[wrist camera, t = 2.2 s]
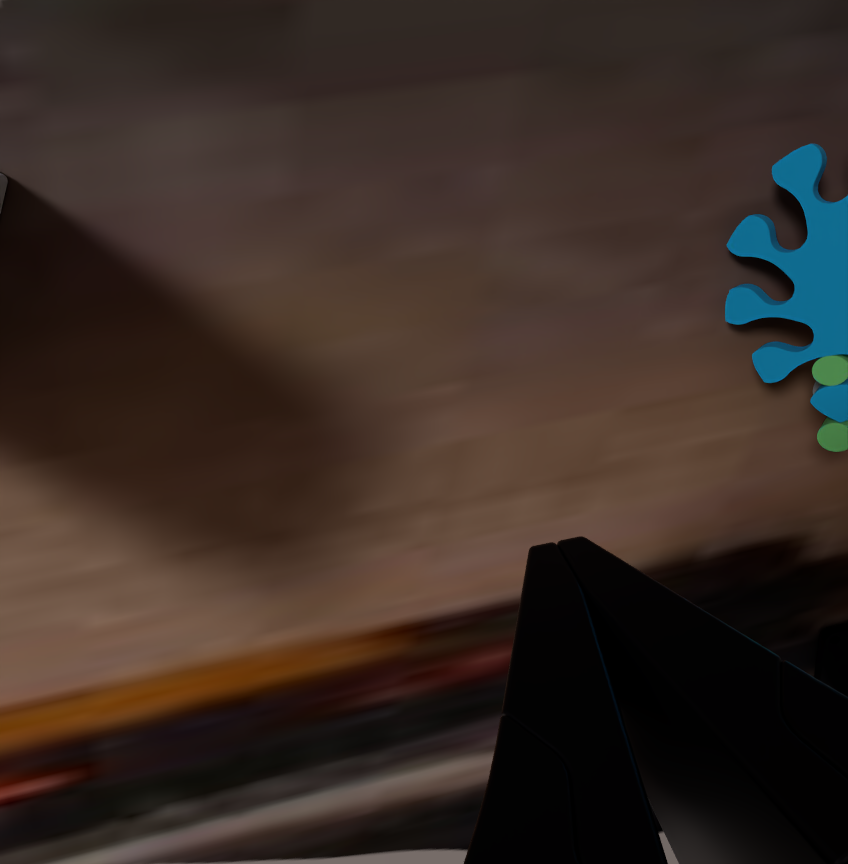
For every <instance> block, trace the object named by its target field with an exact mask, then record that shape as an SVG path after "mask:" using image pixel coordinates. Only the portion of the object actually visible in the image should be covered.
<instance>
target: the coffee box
mask: <svg viewBox="0 0 848 864" xmlns="http://www.w3.org/2000/svg"><path fill="white" fill-rule="evenodd" d="M7 183H8V180H7V177H6V176H5V175H3V174H2V173H0V214H1V209H2V205H3V200H4V196H5V192H6V187H7Z"/></svg>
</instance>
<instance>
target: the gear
mask: <svg viewBox="0 0 848 864" xmlns="http://www.w3.org/2000/svg"><path fill="white" fill-rule="evenodd" d="M826 163H827V157H826V153H825V151H824V150H823V148H822V147H821V146H819V145H817V144H809V145H806V146H803V147H801V148H799V149H797V150H795V151H793V152H791V153H790V154H788V155H787V156H785V157H784V158H782V159H781V160H780V161H779V162H777V163H776V164H775V165H773V166H772V175H773V178H774V180H775V182H776V183H777V184H778V185H779V186H781V187H783V188H785V189H787V190H788V191H789V192H791V193H792V194H793V195H794V196H795V197H796V198H797V200H798V201H799V202H800V204H801V206H802V208H803V210H804V214H805V217H806V223H807V229H808V236H807V240H806V241H805V243H804V244H803V246H802V247H800V248H799V249H796V250H787V249H784V248H782V247H781V246H780V245H779V243H778V241H777V238H776V232H775V227H774V224H773V222H772V220H771V219H769V218H768V217H767V216H765V215H761V214H754V215H749V216H748V217H747V218H745V219H744V220H743V221H742V222H741V223H740V224H739V226H738V227H737V228H736V230H735V231H734V233H733V234H732V236H731V238H730V240H729V242H728V243H727V247H728V249H729V250H730V251H731V252H732V253H733V254H735V255H737V256H742V257H756V258H761V259H764V260H767V261H769V262H771V263H773V264H775V265H776V266H778V267H779V268H780V269H781V270H782V271H784V272H785V273H786V274H787V275H788V276H789V277H790V278H791V280H792V281H793V283H794V285H795V291H794V294H793V296H792V298H791V299H789V300H787V301H775V300H773V299H771V298H770V297H769V296H768V295H767V294H766V293H765V292H764V291H763V290H762V289H761V288H759V287H758V286H756V285H753V284H741V285H739V286H736V287H735V288H733V289H731V290H730V291H729V294H728V296H727V300H726V306H725V321H727V322H729V323H731V324H737V325H740V324H745V323H748V322H750V321H753V320H756V319H760V318H767V317H781V318H786V319H791V320H795V321H798V322H802V323H805V324H807V325H808V326H810V328H811V329H812V330H813V333H814V339H813V342H812V343H811V344H809V345H807V346H803V347H797V346H793V345H789V344H786V343H783V342H769V343H766V344H764V345H763V346H761V347H760V348H759V349H758V350H757V351H755V352H754V353H753V354H752V358H753V363H754V366H755V368H756V370H757V372H758V374H759V375H760V377H761V378H762V379H763V381H764V382H765V383H774V382H778V381H780V380H782V379H783V378H785V377H786V376H787V375H788V374H789V373H790V372H791V371H792V370H793V369H795V368H796V367H797V366H799V365H801V364H803V363H805V362H807V361H810V360H812V359H815V358H819V359H818V360H817V361H816V362H815V364H814V365H813V368H812V374H813V377H814V379H815V380H816V382H815V384H814V386H813V396H812V398H811V401H810V403H811V404H812V405H813V406H814V407H815V408H816V409H817V410H818V411H820V412H821V413H823V414H824V415H826V416H828V417H827V418H826V419H825V421H824V422H823V424H822V426H821V428H820V429H819V431H818V434H817V440H818V442H819V444H820V445H821V446H822V447H823V448H825V449H827V450H829V451H833V452H840V451H844V450H847V449H848V195H847V197H845V198H844V199H842V200H840V201H838V202H828V201H825V200H824V199H822V198H821V197H820V195H819V193H818V184H819V181H820V179H821V177H822V174H823V172H824V170H825V167H826Z"/></svg>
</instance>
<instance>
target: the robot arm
mask: <svg viewBox="0 0 848 864" xmlns="http://www.w3.org/2000/svg"><path fill="white" fill-rule="evenodd" d="M647 797H648V798H647ZM648 800H649V801H648ZM649 802H650V804H651V806H652V808H653V810H654V812H655V814H656V816H657V818H658V820H659V823H660V825H661V827H662V829H663V831H664V833H665V835H666V837H667V839H668V841H669V844H670V845H671V848H672V850H673V852H674V854H675V856H676V858H677V860H678V862H679V864H848V623H846V624H841V625H836V626H831V627H828V628H826V629H824V630H823V631H822V632H821V633H820V635H819V643H818V651H817V660H816V668H815V677H813V676H811V675H810V674H808V673H806V672H805V671H803V670H801V669H800V668H798V667H797V666H795V665H793V664H792V663H790V662H788V661H786V660H784V661H782V663H781V658H780V657H779V656H778V655H776V654H775V653H773V652H772V651H770V650H768V649H767V648H765V647H763V646H762V645H760V644H758V643H757V642H755V641H754V640H752V639H750V638H749V637H747V636H745V635H744V634H742V633H740V632H739V631H737V630H736V629H734V628H732V627H731V626H729V625H727V624H726V623H724V622H722V621H721V620H719V619H718V618H716V617H714V616H713V615H711V614H709V613H708V612H706V611H704V610H703V609H701V608H700V607H698V606H696V605H695V604H693V603H691V602H690V601H688V600H687V599H685V598H683V597H682V596H680V595H678V594H677V593H675V592H673V591H672V590H670V589H669V588H667V587H665V586H664V585H662V584H660V583H659V582H657V581H655V580H654V579H652V578H651V577H649V576H647V575H646V574H644V573H642V572H641V571H639V570H637V569H636V568H634V567H633V566H631V565H629V564H628V563H626V562H624V561H623V560H621V559H619V558H618V557H616V556H615V555H613V554H611V553H610V552H608V551H606V550H605V549H603V548H601V547H600V546H598V545H597V544H595V543H593V542H592V541H590V540H588V539H587V538H585V537H575V538H570V539H565V540H561V541H559V542H558V543H557V545H556V544H555V543H553V542H551V543H546V544H541V545H536V546H532V547H531V548H530V549H529V553H528V559H527V565H526V570H525V576H524V582H523V588H522V594H521V600H520V606H519V612H518V618H517V624H516V630H515V636H514V642H513V648H512V654H511V660H510V666H509V672H508V678H507V684H506V690H505V696H504V702H503V708H502V717H501V718H500V723H499V729H498V735H497V741H496V746H495V751H494V756H493V761H492V765H491V770H490V775H489V780H488V784H487V787H486V791H485V795H484V798H483V802H482V805H481V809H480V812H479V816H478V820H477V823H476V827H475V830H474V833H473V836H472V839H471V842H470V845H469V849H468V852H467V855H466V858H465V861H464V864H668V863H667V860H666V856H665V853H664V850H663V847H662V843H661V840H660V837H659V834H658V830H657V827H656V824H655V821H654V817H653V814H652V811H651V808H650V804H649Z"/></svg>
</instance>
